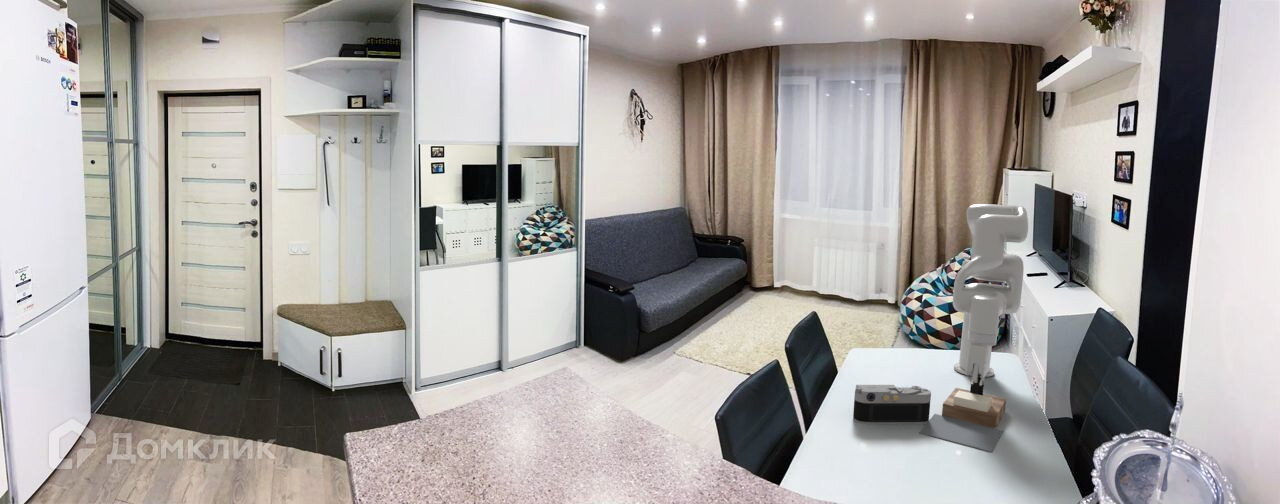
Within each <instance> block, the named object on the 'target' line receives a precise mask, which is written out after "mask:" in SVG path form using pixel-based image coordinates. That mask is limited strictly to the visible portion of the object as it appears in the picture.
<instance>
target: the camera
mask: <svg viewBox="0 0 1280 504" xmlns="http://www.w3.org/2000/svg"><path fill="white" fill-rule="evenodd" d="M931 398H932V391H931V390H930V389H928V388H923V387H921V386H919V385H912V386H911V387H907V386H906V387H904V386H902V387H901V386H900V387H899V386H898V387H897V386H896V385H895V384H856V386H855V389H854V399H853V400H854V401H853V413H852V420H853V421H854V422H856V423H858V424H863V425H919V424H920V425H923V424H924V425H926V424H927V422H928V421H929V420H930V410H931V402H932V401H931V400H932V399H931Z"/></svg>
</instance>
